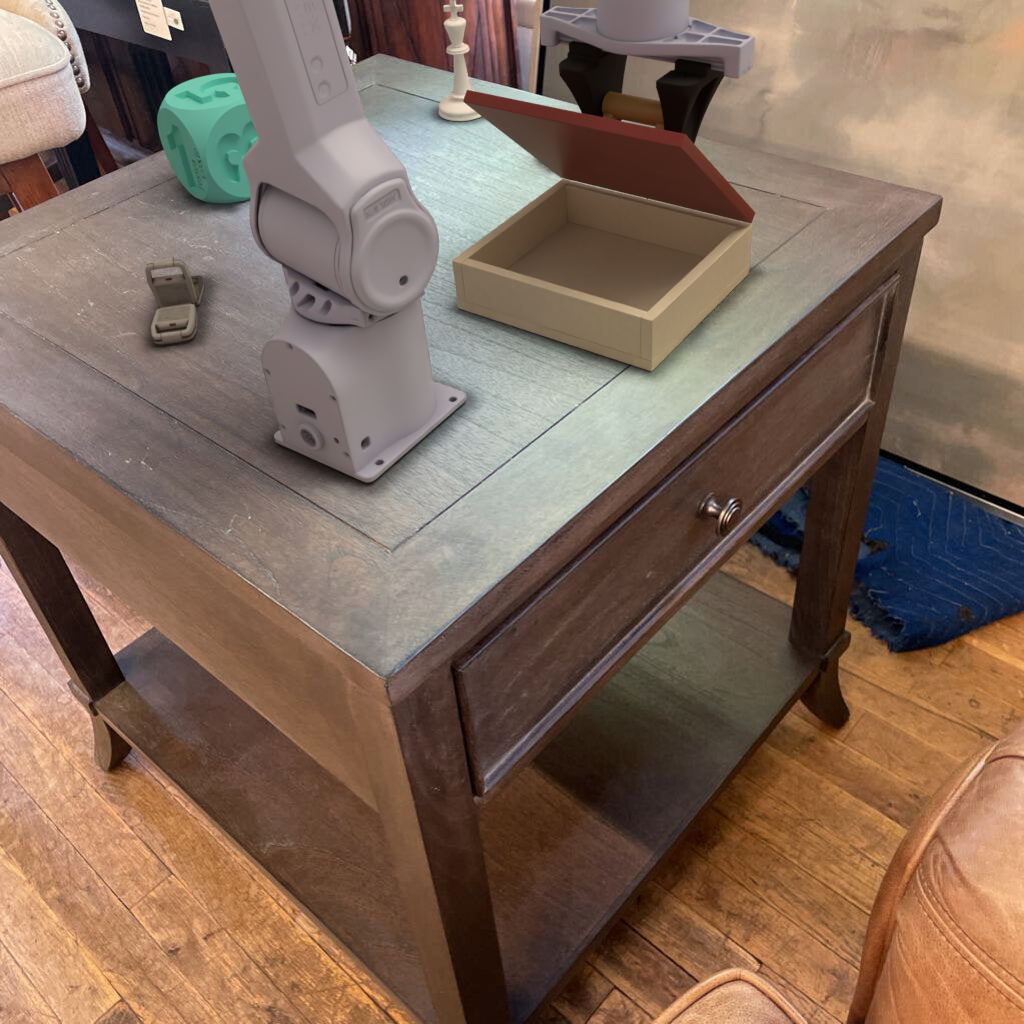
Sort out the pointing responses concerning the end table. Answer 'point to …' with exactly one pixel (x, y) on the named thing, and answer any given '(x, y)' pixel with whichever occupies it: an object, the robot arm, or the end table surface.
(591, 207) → the hinged lid box
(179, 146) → the decorative dice
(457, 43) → the chess piece
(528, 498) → the end table surface
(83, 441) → the end table surface
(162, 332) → the strap clip
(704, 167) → the cover
